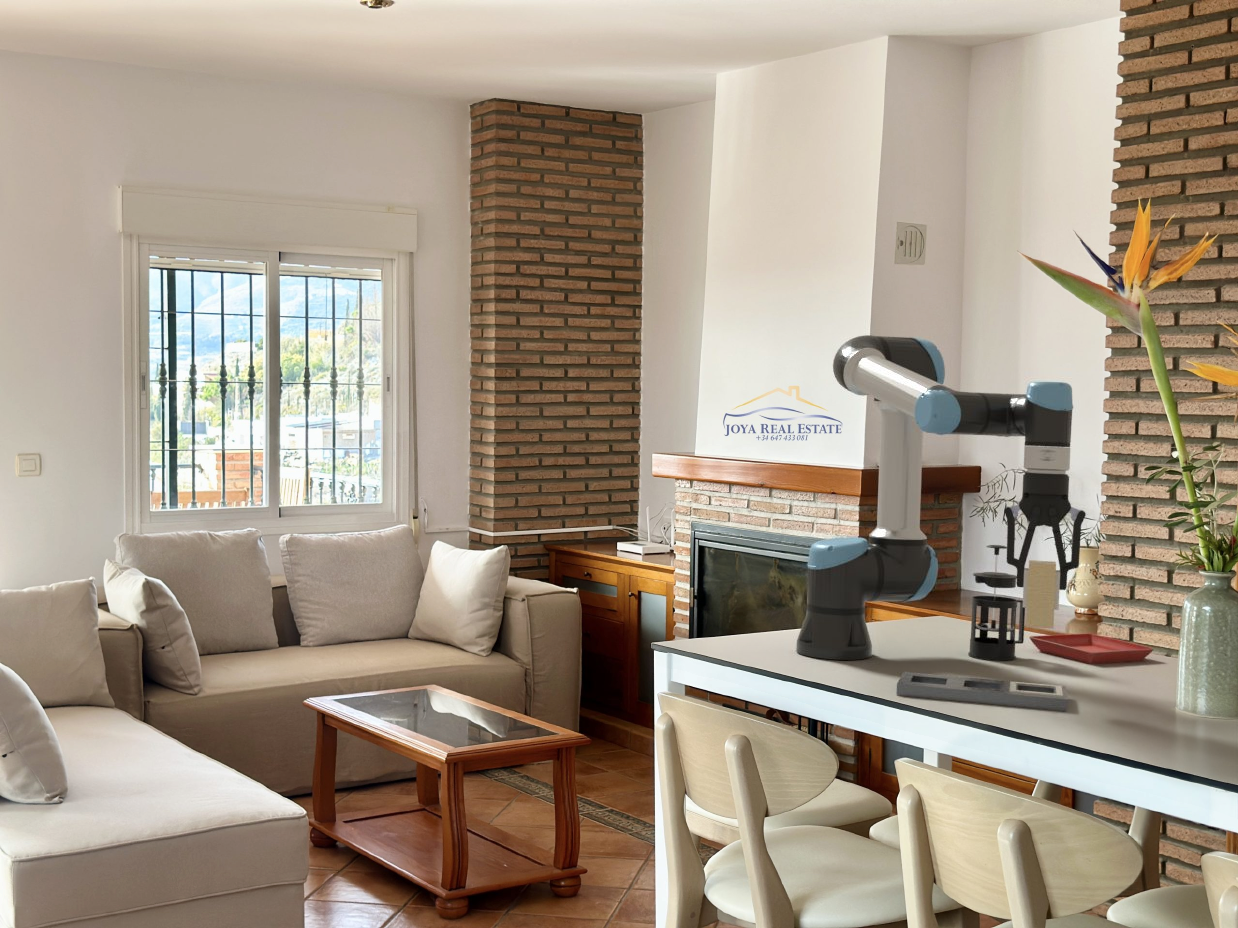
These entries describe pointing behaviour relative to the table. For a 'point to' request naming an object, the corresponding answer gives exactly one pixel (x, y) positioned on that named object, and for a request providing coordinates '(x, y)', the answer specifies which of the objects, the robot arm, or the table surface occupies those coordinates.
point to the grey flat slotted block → (983, 691)
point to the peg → (1041, 594)
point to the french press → (986, 645)
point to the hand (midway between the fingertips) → (1040, 607)
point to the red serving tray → (1090, 648)
